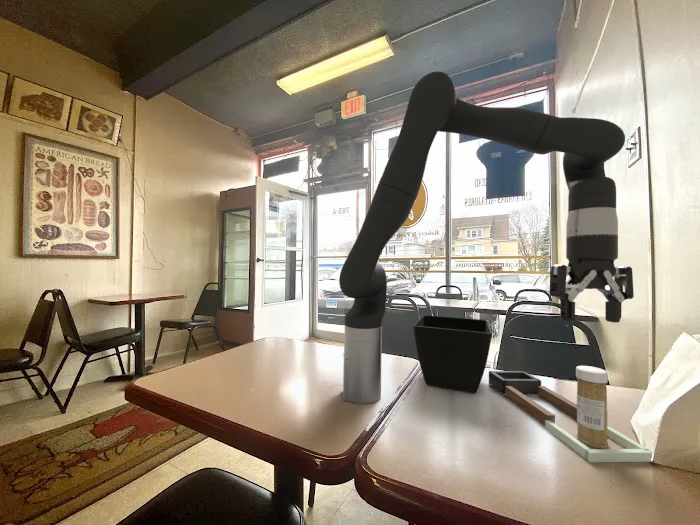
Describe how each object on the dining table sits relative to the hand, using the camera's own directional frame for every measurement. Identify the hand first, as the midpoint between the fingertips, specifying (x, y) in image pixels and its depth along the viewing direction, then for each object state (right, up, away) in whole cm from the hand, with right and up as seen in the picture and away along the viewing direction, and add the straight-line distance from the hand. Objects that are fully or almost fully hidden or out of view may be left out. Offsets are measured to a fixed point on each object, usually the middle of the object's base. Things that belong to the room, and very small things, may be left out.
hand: (590, 321), depth 55 cm
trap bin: (-1, -23, +24) cm, 33 cm away
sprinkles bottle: (0, -22, -1) cm, 22 cm away
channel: (-1, -22, +12) cm, 25 cm away
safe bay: (0, -22, -1) cm, 22 cm away
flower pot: (-16, -23, +27) cm, 39 cm away
